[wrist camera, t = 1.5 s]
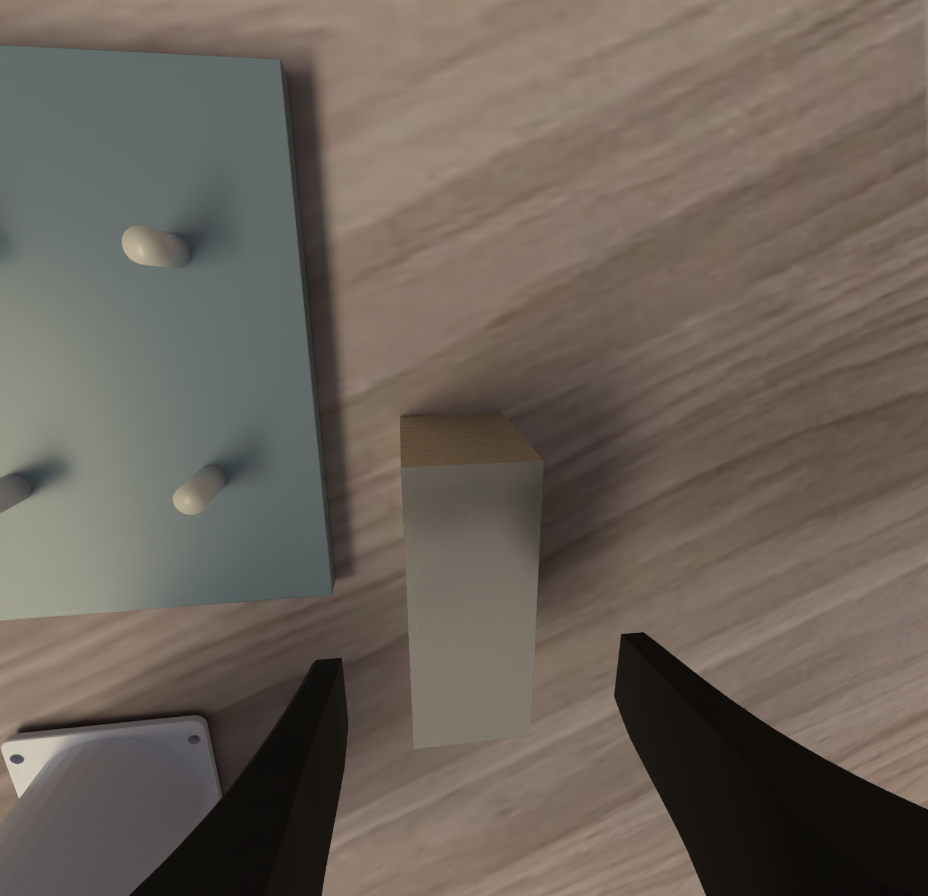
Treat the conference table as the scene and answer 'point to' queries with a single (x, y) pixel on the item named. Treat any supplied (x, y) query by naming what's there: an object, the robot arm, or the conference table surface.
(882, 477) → the conference table surface
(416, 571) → the beige rectangular block
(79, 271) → the tray
